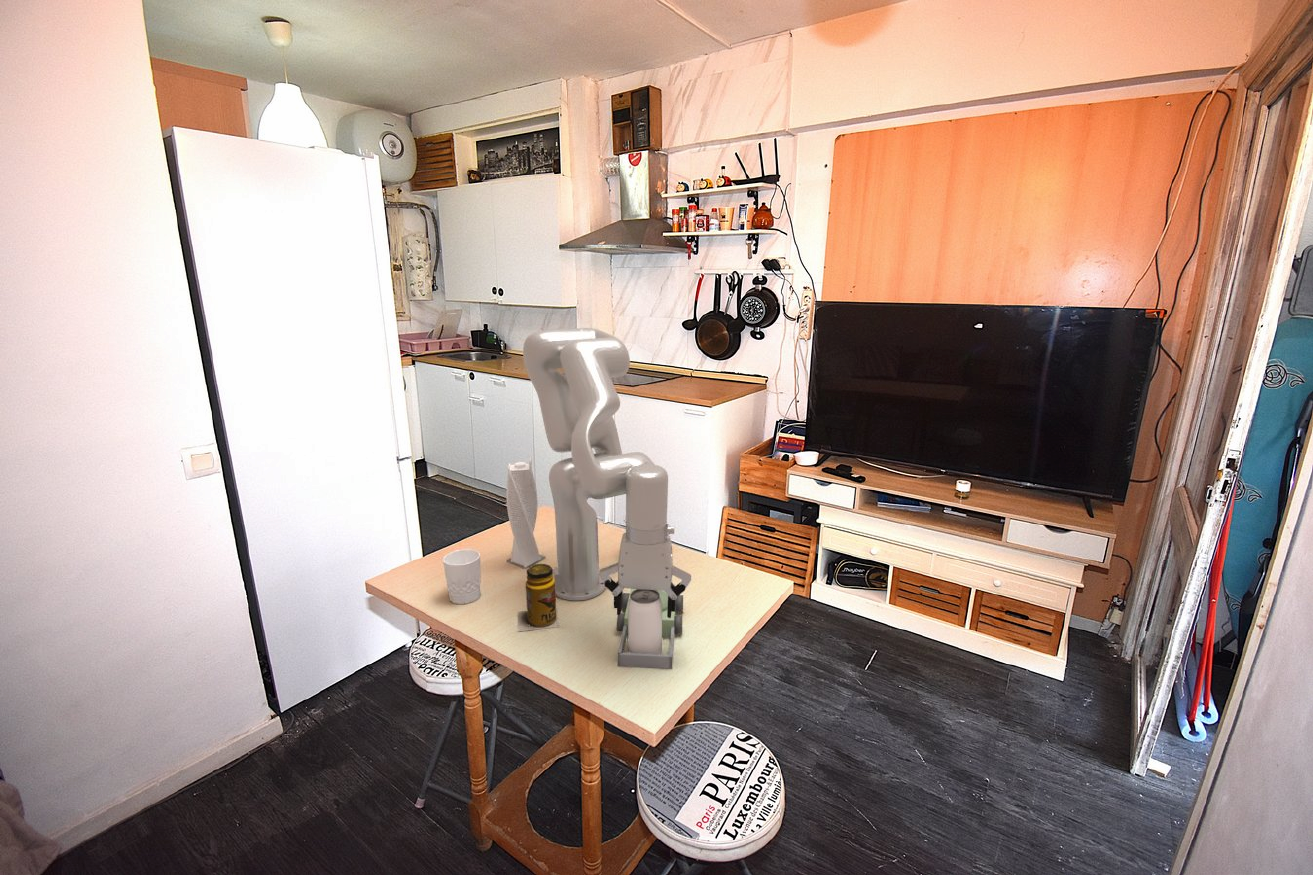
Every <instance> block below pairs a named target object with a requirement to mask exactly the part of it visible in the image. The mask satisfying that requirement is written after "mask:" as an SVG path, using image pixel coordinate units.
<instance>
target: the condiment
mask: <svg viewBox="0 0 1313 875" xmlns="http://www.w3.org/2000/svg"><path fill="white" fill-rule="evenodd" d="M553 569H554V568H553V567H552V566H551V565H549V564H547V563H536V564H534V565H532V566H530V567H528V568H527V570H526V581H525V593H526V594H525V596H526V597H525V598H526V609H527V610H521V611H517V632H518V633H519V632H526V631H533V630H543V629H552V628H558V627H560V621H559V613H558V607H557V600H556V599H557V598H556V597H557V596H556V594H555V579H554V578H553Z"/></svg>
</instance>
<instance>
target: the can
mask: <svg viewBox="0 0 1313 875" xmlns="http://www.w3.org/2000/svg"><path fill="white" fill-rule="evenodd" d="M627 638H628V640H627V641H628V653H640V654H661V653H662V648H663V647H662V644H663V638H662V601H661V599H660V594H659V592H658V591H656V590H642V589H636V590H634V591H633V592H632V593H631V594H630V599H629V602H628V636H627Z"/></svg>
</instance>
